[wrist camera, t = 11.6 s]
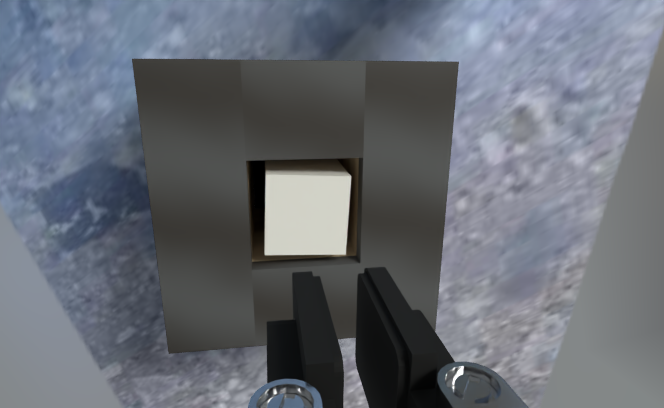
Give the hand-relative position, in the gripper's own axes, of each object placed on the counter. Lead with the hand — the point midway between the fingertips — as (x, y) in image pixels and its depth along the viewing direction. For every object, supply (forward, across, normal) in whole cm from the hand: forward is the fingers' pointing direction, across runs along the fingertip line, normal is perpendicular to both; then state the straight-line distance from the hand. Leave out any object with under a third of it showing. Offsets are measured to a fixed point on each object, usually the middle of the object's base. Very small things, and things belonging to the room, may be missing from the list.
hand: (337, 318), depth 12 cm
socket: (+19, 0, 0) cm, 19 cm away
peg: (+19, 0, 0) cm, 19 cm away
